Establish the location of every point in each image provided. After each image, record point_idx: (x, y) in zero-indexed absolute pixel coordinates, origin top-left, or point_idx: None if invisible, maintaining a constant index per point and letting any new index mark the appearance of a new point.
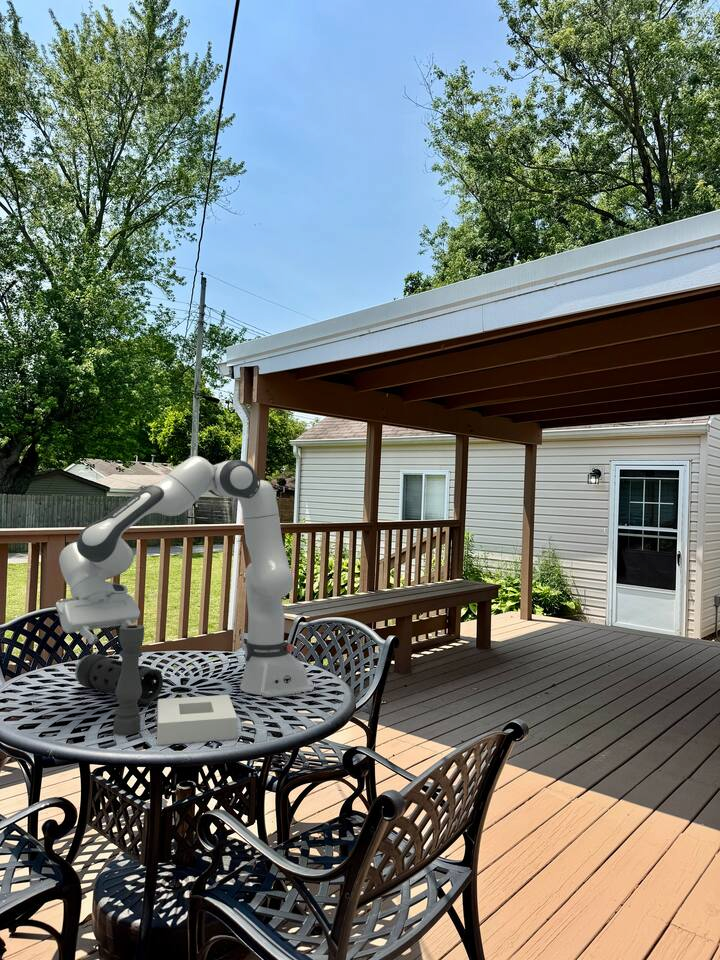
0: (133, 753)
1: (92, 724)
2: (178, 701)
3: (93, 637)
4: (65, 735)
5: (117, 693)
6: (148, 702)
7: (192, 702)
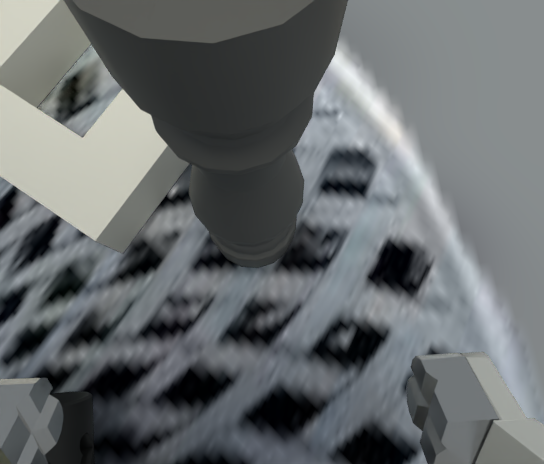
0: (330, 70)
1: (301, 361)
2: (63, 161)
3: (481, 377)
4: (410, 326)
5: (303, 186)
6: (51, 394)
7: (38, 117)
